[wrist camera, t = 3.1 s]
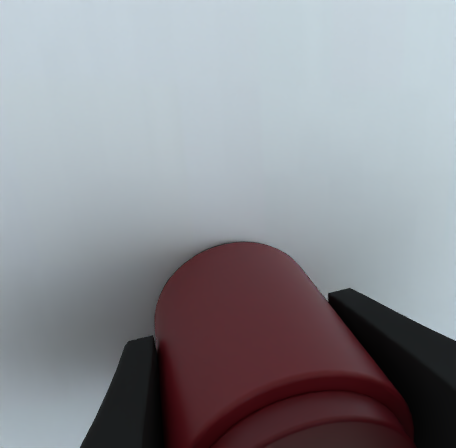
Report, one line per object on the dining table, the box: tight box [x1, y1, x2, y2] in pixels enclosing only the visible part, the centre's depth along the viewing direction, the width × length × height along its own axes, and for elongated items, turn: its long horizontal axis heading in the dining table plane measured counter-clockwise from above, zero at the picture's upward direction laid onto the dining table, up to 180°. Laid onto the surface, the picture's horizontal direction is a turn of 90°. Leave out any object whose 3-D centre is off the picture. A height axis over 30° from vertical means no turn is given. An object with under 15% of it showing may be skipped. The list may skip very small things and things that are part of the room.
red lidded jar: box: [155, 242, 417, 448], centre depth 9 cm, size 5×5×6 cm
